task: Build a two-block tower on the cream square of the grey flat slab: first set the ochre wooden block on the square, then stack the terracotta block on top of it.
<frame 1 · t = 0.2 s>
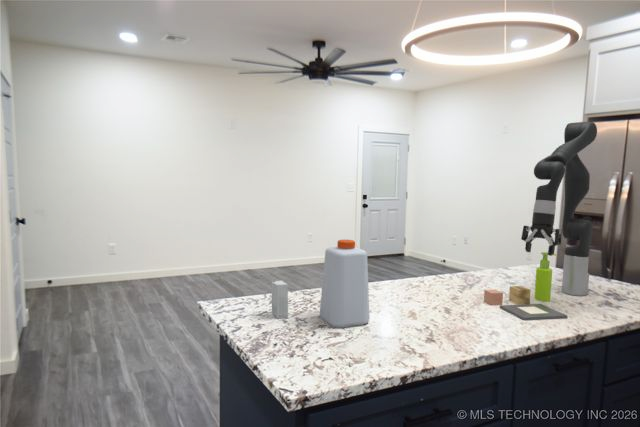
hand: (538, 253, 161), 21 cm above the counter, tool pointing down, fingers open, 8 cm apart
ochre block: (519, 302, 170), on the counter
grey flat slab: (532, 312, 156), on the counter
plastic bottle: (344, 320, 144), on the counter
skincare box: (279, 316, 147), on the counter
soap dispenser: (543, 299, 174), on the counter
terracotta block: (492, 303, 167), on the counter
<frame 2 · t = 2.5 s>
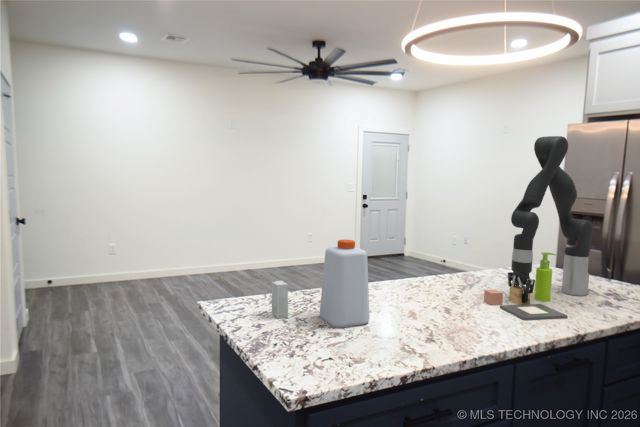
hand: (519, 300, 169), 1 cm above the counter, tool pointing down, fingers closed on ochre block, 5 cm apart
ochre block: (519, 302, 169), on the counter, touching gripper
everything else where it was.
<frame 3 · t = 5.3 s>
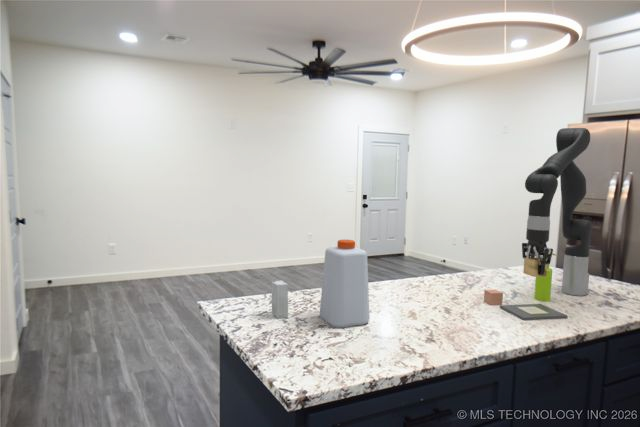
hand: (534, 272, 155), 16 cm above the counter, tool pointing down, fingers closed on ochre block, 5 cm apart
ochre block: (534, 274, 155), point 15 cm above the counter, touching gripper
everything else where it was.
when the fingers open (3 cm above the counter, at t = 8.0 s): ochre block drops 1 cm, resting on grey flat slab.
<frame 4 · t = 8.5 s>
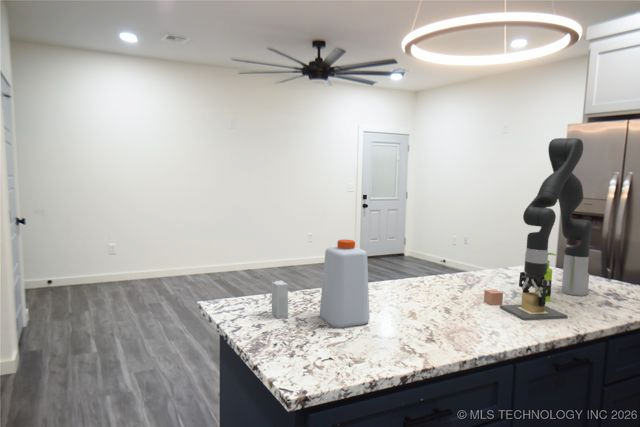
hand: (533, 302, 156), 4 cm above the counter, tool pointing down, fingers open, 8 cm apart
ochre block: (532, 310, 156), point 1 cm above the counter, touching grey flat slab
everything else where it was.
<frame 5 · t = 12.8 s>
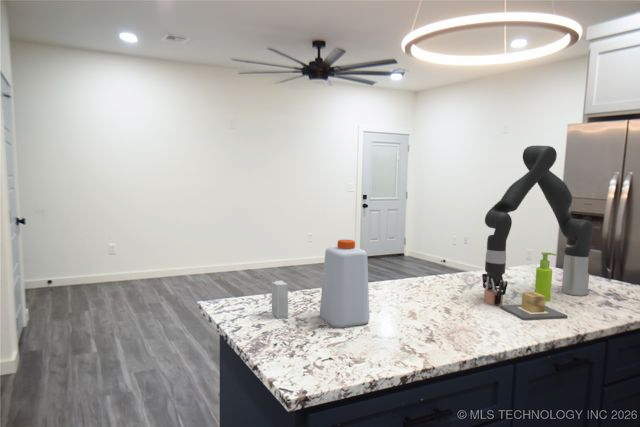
hand: (493, 301, 167), 0 cm above the counter, tool pointing down, fingers closed on terracotta block, 5 cm apart
terracotta block: (492, 303, 167), on the counter, touching gripper
everything else where it was.
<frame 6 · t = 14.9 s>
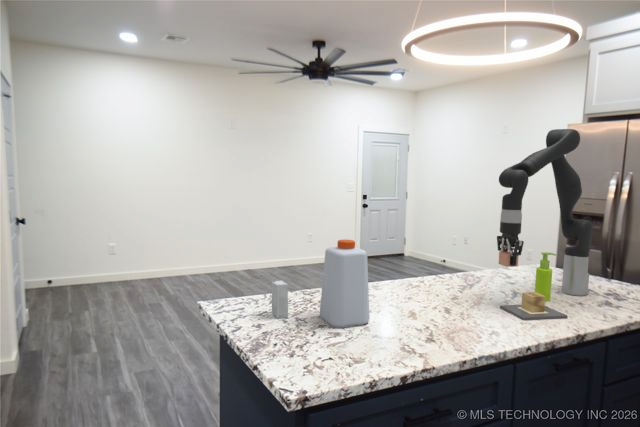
hand: (508, 263, 162), 17 cm above the counter, tool pointing down, fingers closed on terracotta block, 5 cm apart
terracotta block: (508, 265, 162), point 17 cm above the counter, touching gripper
everything else where it was.
when the fingers open (9 cm above the counter, at t = 17.5 s): terracotta block drops 1 cm, resting on ochre block.
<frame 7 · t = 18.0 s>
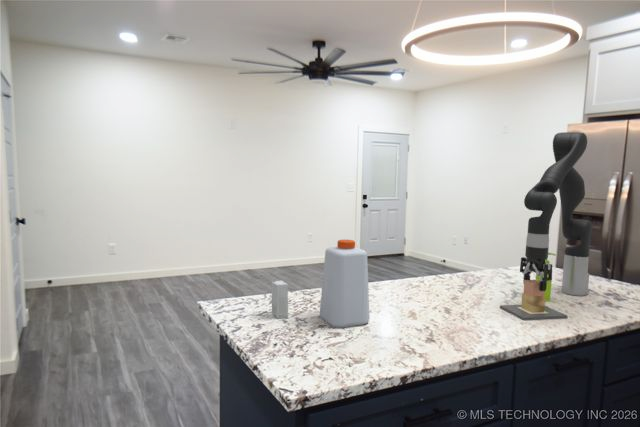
hand: (534, 287, 155), 10 cm above the counter, tool pointing down, fingers open, 8 cm apart
ochre block: (532, 310, 156), point 1 cm above the counter, touching grey flat slab, terracotta block
terracotta block: (533, 294, 155), point 7 cm above the counter, touching ochre block
everything else where it was.
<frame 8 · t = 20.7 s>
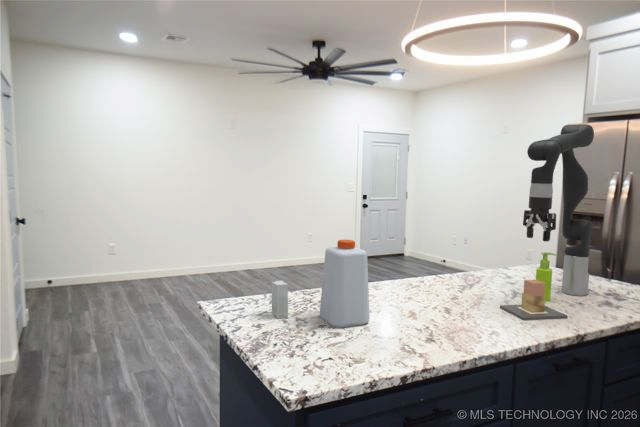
hand: (537, 239, 153), 28 cm above the counter, tool pointing down, fingers open, 8 cm apart
nothing on the counter moved.
at the end: ochre block 0.0 cm from the target spot, point 1.1 cm above the counter; terracotta block 0.0 cm off-centre on the ochre block, point 6.0 cm above the ochre block's base; terracotta block tilted 0° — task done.
